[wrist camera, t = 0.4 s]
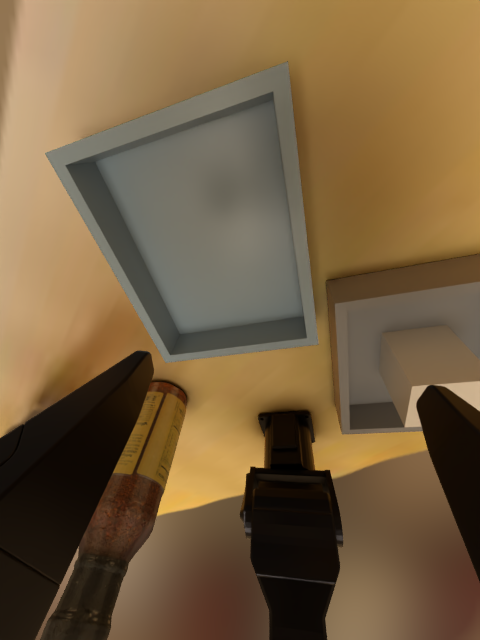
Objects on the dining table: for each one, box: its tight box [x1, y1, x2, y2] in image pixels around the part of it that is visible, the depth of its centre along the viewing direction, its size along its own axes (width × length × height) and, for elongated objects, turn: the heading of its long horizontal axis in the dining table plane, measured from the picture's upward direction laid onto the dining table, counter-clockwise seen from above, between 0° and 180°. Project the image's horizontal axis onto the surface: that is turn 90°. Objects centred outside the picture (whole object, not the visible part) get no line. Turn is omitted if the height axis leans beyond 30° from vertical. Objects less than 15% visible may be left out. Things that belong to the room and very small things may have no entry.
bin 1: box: [45, 61, 318, 363], centre depth 19 cm, size 17×14×4 cm
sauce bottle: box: [40, 382, 187, 640], centre depth 24 cm, size 6×6×20 cm
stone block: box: [379, 325, 480, 427], centre depth 21 cm, size 5×5×6 cm
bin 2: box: [326, 254, 480, 434], centre depth 22 cm, size 17×14×4 cm
